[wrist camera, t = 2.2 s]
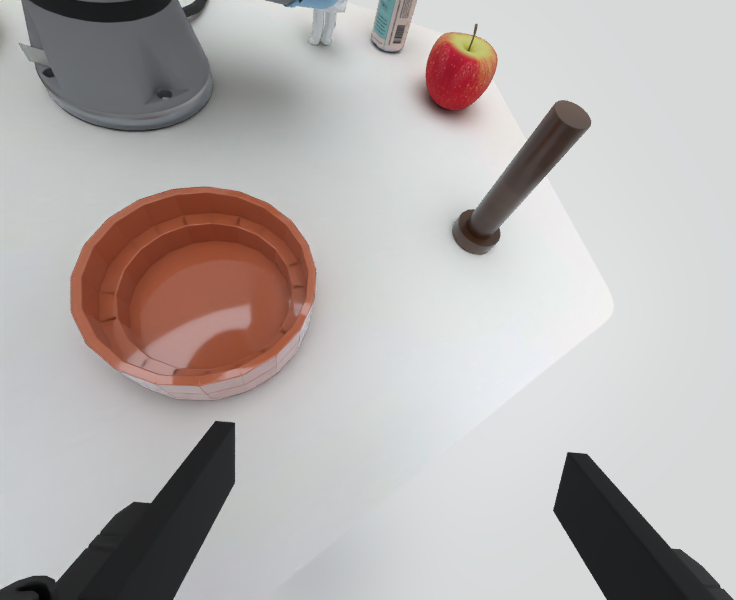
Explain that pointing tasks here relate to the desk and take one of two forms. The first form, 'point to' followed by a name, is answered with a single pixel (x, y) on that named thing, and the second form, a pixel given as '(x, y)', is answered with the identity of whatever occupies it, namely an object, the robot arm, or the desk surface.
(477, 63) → the apple
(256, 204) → the bowl
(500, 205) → the muddler
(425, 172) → the desk surface
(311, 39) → the toy robot
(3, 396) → the desk surface
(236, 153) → the desk surface
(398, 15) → the beer can
